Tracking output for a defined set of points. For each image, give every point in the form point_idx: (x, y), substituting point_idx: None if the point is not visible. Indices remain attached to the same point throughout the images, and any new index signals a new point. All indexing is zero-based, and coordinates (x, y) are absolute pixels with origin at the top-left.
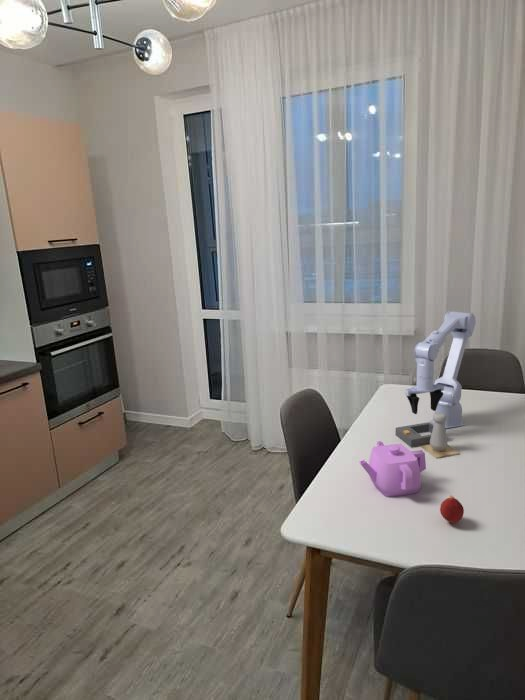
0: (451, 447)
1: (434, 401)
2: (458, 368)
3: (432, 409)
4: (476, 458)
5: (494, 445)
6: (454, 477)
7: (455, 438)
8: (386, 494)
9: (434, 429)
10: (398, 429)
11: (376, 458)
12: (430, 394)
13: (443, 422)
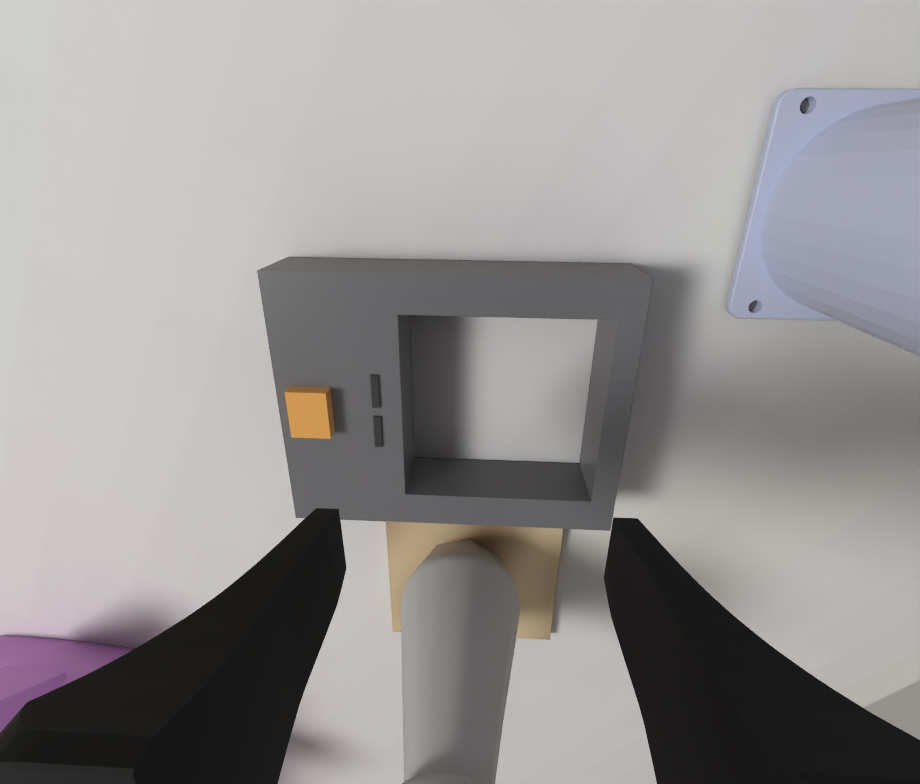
0: (553, 580)
1: (653, 700)
2: None
3: (610, 553)
4: (596, 683)
5: (822, 624)
6: (377, 750)
7: (692, 476)
8: None
9: (404, 715)
10: (269, 318)
11: None
12: (720, 702)
13: None
